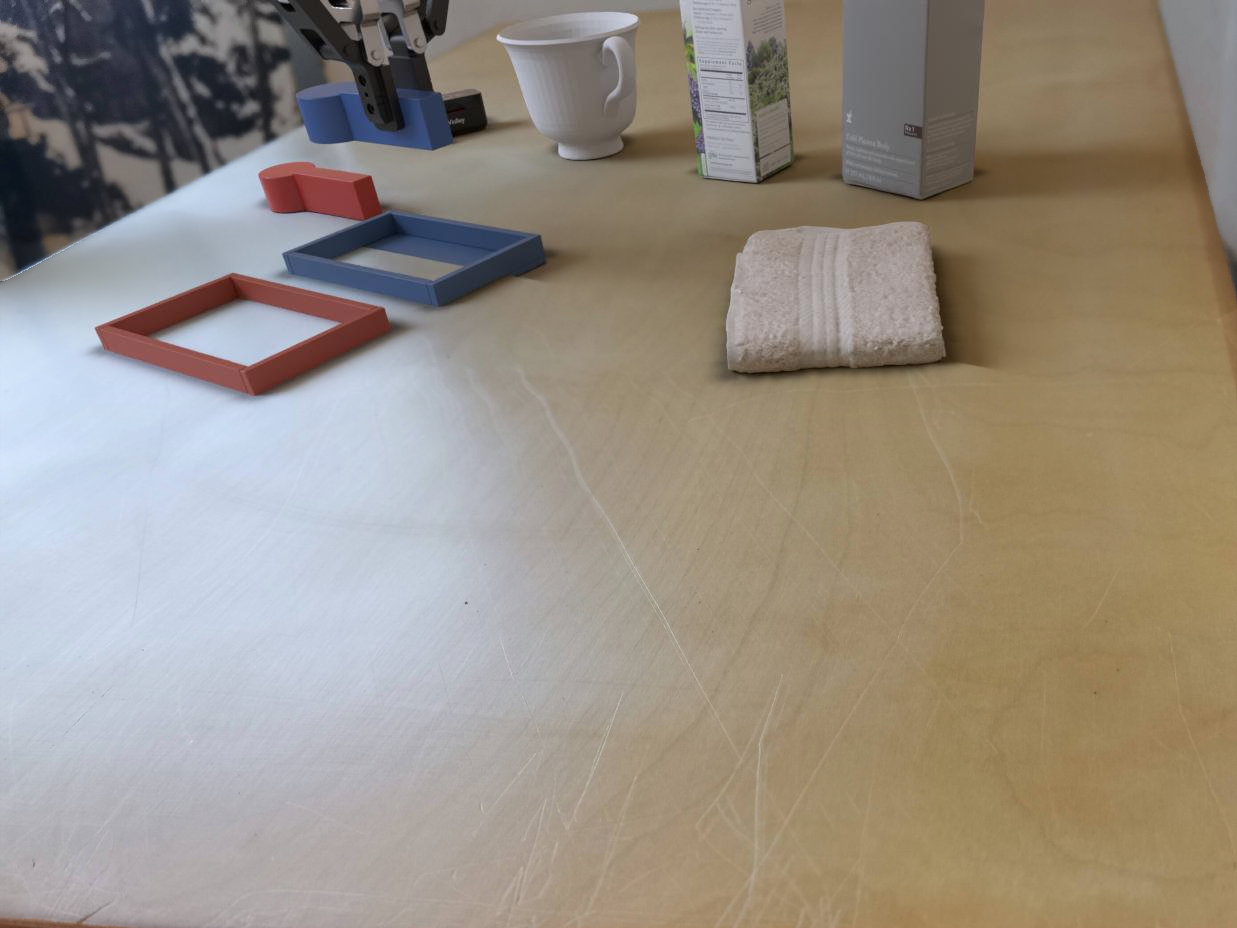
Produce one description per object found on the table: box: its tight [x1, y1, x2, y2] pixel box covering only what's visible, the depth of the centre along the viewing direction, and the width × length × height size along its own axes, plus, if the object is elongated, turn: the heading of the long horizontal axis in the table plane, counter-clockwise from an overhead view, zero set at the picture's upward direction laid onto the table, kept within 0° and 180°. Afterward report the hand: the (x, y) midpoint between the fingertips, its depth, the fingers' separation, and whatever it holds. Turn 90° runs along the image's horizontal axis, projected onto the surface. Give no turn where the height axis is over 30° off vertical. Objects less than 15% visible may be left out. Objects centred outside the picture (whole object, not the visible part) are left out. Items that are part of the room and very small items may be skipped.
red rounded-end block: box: [258, 161, 383, 221], centre depth 91 cm, size 12×4×3 cm, turn 57°
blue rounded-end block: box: [295, 81, 454, 152], centre depth 72 cm, size 12×4×3 cm, turn 57°
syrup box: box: [678, 0, 795, 184], centre depth 87 cm, size 6×6×14 cm
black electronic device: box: [441, 88, 489, 137], centre depth 107 cm, size 5×7×3 cm, turn 123°
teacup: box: [496, 11, 642, 161], centre depth 96 cm, size 12×15×10 cm
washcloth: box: [725, 220, 947, 374], centre depth 66 cm, size 12×18×3 cm, turn 179°
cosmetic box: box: [841, 0, 986, 200], centre depth 81 cm, size 8×7×16 cm
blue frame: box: [281, 209, 547, 308], centre depth 77 cm, size 15×10×2 cm, turn 57°
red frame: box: [94, 272, 392, 397], centre depth 69 cm, size 15×10×2 cm, turn 57°
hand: (405, 123), depth 71 cm, fingers closed on blue rounded-end block, 2 cm apart
